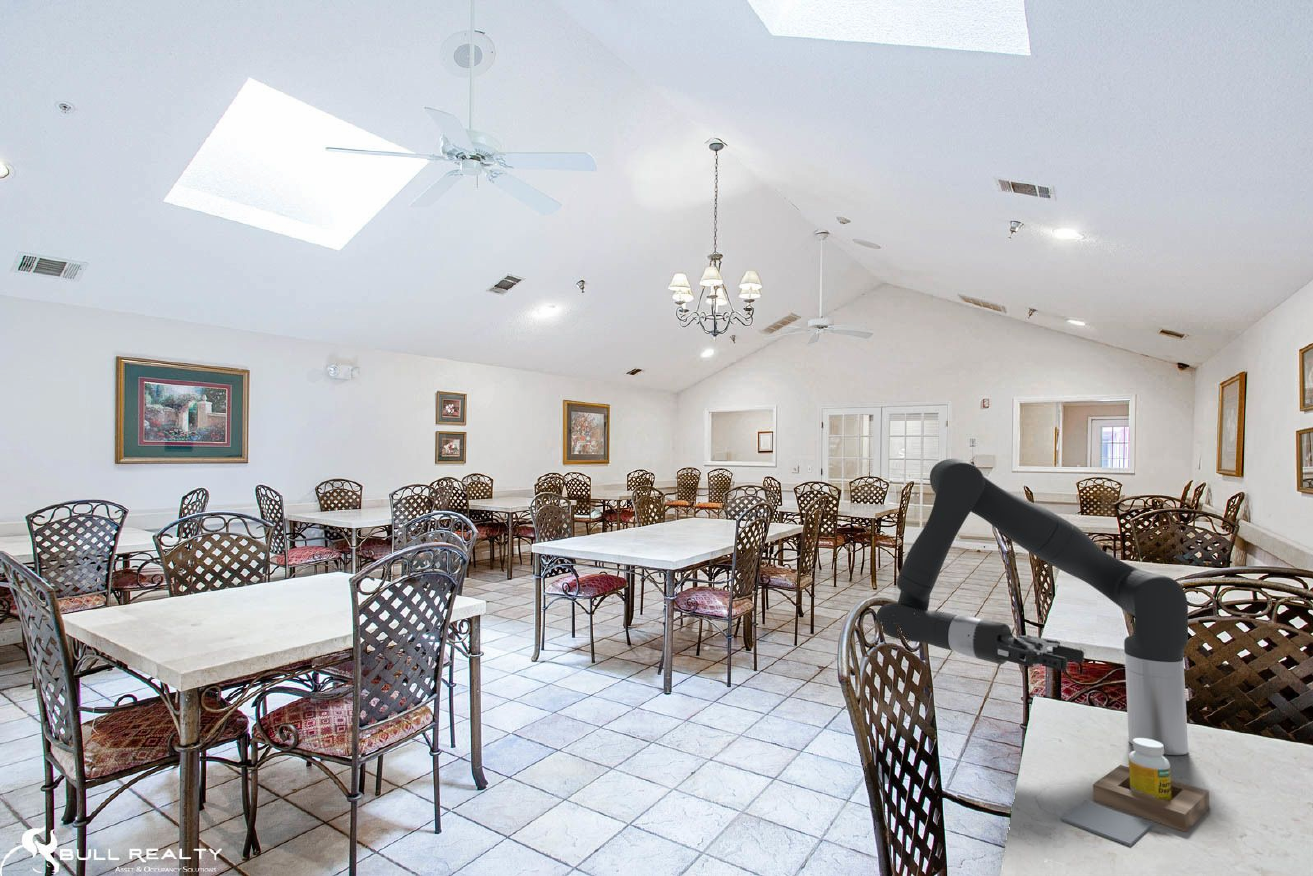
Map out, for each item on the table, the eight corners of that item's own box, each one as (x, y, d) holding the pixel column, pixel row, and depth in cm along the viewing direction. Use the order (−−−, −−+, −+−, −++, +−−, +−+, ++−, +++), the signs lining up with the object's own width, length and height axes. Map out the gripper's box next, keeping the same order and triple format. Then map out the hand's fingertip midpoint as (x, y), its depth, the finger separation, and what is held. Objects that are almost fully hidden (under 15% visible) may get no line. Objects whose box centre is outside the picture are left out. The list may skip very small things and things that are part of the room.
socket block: (1121, 779, 113) (1120, 764, 113) (1209, 807, 104) (1208, 791, 104) (1093, 800, 106) (1092, 784, 106) (1185, 832, 97) (1184, 814, 97)
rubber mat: (1085, 802, 105) (1084, 800, 105) (1152, 826, 98) (1152, 823, 98) (1060, 820, 100) (1060, 817, 100) (1130, 846, 93) (1130, 843, 93)
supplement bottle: (1138, 792, 109) (1136, 733, 109) (1178, 806, 104) (1174, 744, 105) (1124, 801, 106) (1121, 740, 106) (1164, 816, 101) (1161, 751, 102)
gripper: (964, 623, 122) (1061, 644, 110) (995, 615, 131) (1089, 634, 119) (962, 664, 122) (1060, 690, 109) (994, 653, 131) (1087, 676, 119)
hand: (1075, 661), depth 114 cm, fingers open, 8 cm apart
